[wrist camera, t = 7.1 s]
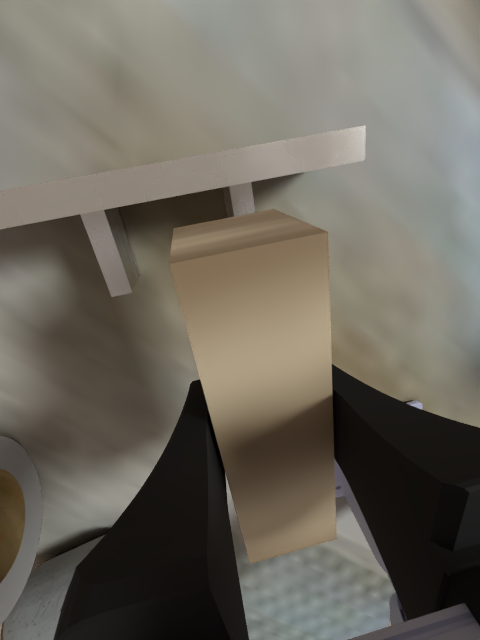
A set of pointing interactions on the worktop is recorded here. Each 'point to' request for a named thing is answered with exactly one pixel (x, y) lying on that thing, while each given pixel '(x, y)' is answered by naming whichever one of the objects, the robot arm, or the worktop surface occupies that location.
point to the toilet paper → (17, 521)
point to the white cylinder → (44, 597)
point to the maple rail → (265, 369)
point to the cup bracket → (170, 191)
